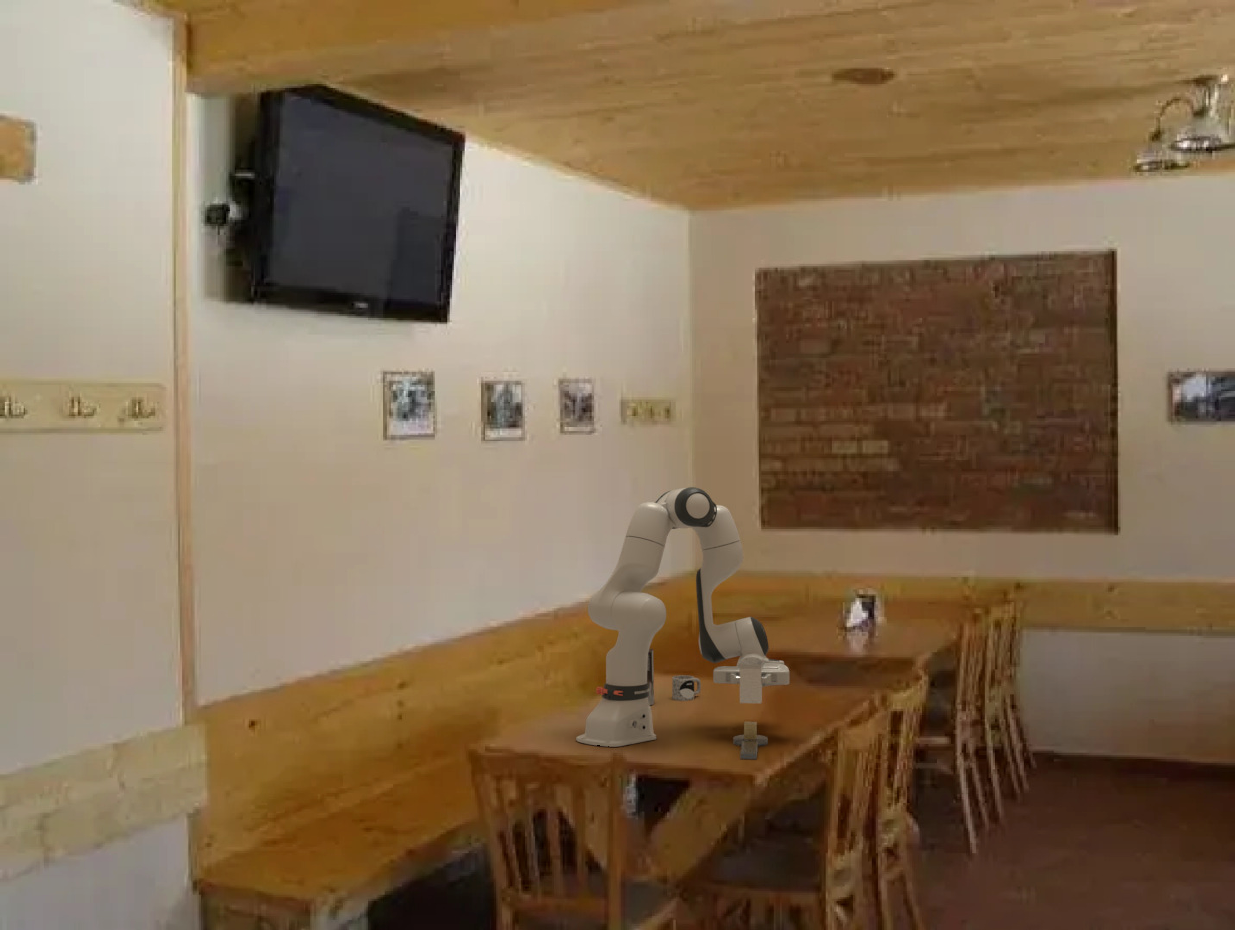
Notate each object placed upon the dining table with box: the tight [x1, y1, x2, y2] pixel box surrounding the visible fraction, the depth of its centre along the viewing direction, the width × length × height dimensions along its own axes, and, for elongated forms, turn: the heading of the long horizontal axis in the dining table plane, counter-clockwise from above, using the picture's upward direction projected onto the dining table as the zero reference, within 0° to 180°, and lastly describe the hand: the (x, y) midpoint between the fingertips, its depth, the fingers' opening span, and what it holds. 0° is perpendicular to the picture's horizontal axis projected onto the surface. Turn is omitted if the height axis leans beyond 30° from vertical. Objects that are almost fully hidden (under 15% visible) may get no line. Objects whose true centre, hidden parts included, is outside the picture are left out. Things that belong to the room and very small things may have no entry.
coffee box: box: [647, 648, 655, 706], centre depth 456 cm, size 9×6×16 cm
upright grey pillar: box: [739, 661, 763, 704], centre depth 399 cm, size 6×6×10 cm
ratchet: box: [732, 721, 769, 760], centre depth 392 cm, size 24×9×6 cm, turn 173°
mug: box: [671, 674, 702, 702], centre depth 465 cm, size 10×7×7 cm
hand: (750, 680), depth 398 cm, fingers closed on upright grey pillar, 6 cm apart
